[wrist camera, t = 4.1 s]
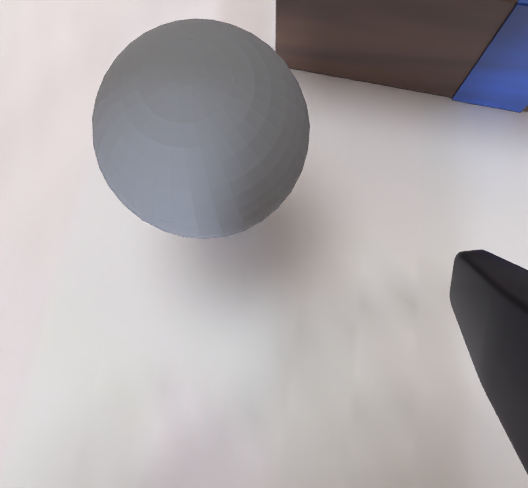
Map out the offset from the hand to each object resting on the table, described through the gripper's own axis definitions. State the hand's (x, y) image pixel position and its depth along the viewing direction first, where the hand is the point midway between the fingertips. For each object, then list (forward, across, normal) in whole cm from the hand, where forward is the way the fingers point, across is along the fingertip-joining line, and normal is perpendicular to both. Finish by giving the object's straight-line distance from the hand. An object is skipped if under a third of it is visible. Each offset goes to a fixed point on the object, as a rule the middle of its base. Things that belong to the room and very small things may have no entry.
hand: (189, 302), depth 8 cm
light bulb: (+12, 0, +5) cm, 13 cm away
